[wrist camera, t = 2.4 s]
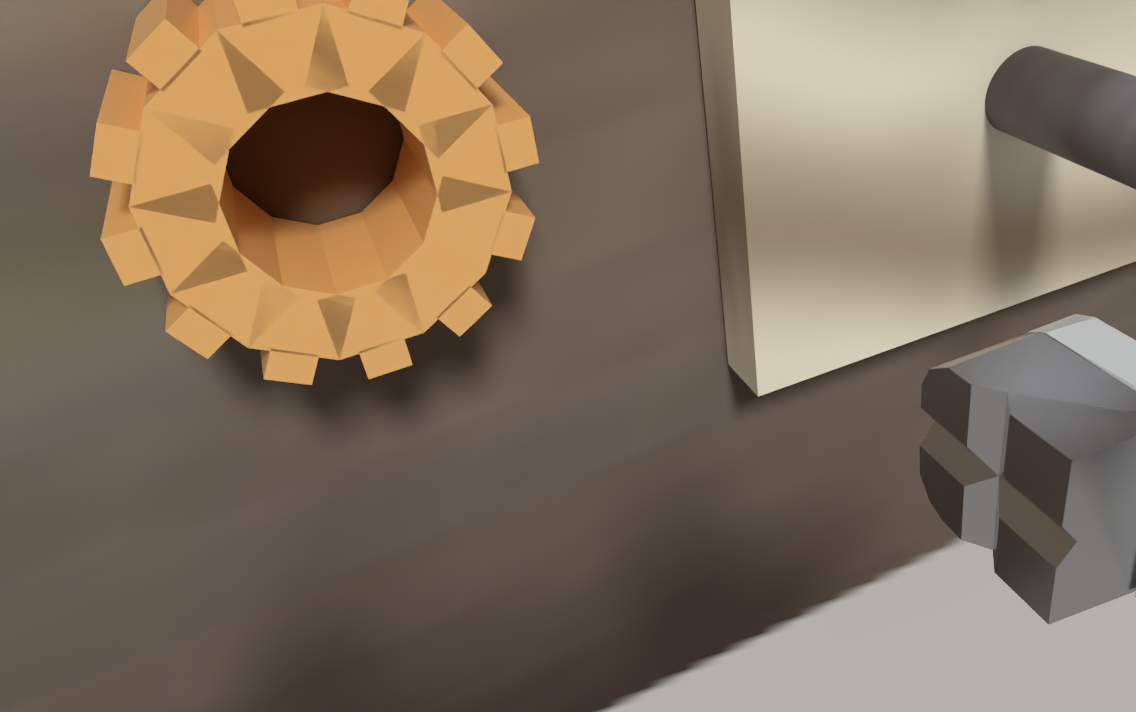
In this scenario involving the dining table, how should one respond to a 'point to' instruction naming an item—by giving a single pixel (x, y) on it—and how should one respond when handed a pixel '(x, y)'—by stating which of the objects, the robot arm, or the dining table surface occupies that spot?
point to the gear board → (909, 166)
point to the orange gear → (294, 249)
